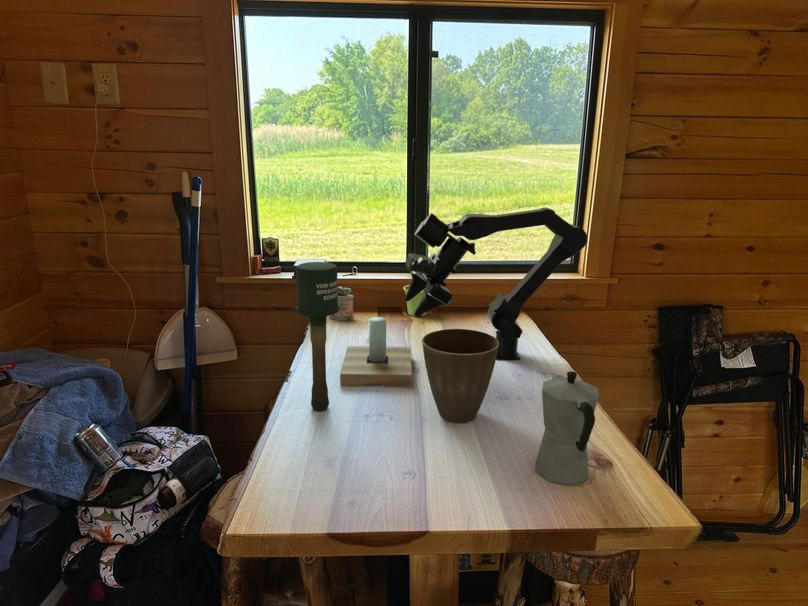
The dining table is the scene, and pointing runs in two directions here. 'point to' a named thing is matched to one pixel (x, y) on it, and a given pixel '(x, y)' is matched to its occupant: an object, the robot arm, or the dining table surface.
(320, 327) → the potato masher grenade
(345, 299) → the lighter
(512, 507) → the dining table surface
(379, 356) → the peg
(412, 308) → the plant pot
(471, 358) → the plant pot
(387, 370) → the board
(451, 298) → the robot arm
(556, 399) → the coffeepot
